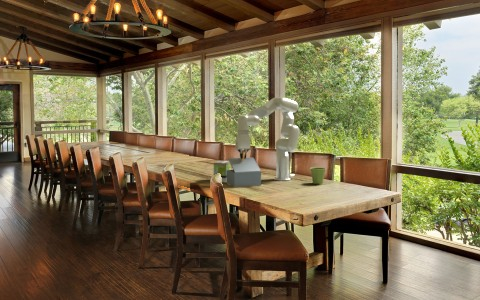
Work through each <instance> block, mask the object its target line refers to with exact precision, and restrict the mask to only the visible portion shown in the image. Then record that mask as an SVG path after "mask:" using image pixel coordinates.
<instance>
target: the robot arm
mask: <svg viewBox="0 0 480 300" xmlns="http://www.w3.org/2000/svg"><path fill="white" fill-rule="evenodd" d="M299 108H300V107H299V104H298V102H297V101H294V100H292V99H289V98H287V97H282V96H281V97H279V96H278V97H273V98H271V99H270V100H268V101H267V102H266V103H264V104H262V105H261V106H258V107H257V108H254V109H251V110H250V111H248V112H247V113H246V114H244V115H239V116H238V117H237V134H236V136H235V137H236V138H235V148H234V150H235V151H237V152H239V158H241V159H243V153H242V150H244V151H245V157H244V159H246V158H247V153H248V152H249V151H250V150H252V147H251V136H250V133H251V131H250V130H249V126H252V127H253V126H257V125H259V123H260V118H265V117H268V116H270V115H272V113H274V112H275V111H277V110H279V111H280V113H281V114H282V123H281V127H280V132H279V133H280V136H281V137H284V138H278V139H277V140H276V142H275V150H276V151H275V152H276V167H275V168H276V171H275V173H276V176H275V177H274V178H273V179H274V180H275V181H290V180H291V177H295V174H294V173H290V154H289V153H292V152H294V151H295V150H297V147H298V143H299V138H300V135H301V134H300V128H299V126H297V125H294V122H295V116H294V113H296V112H298V110H299Z"/></svg>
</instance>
